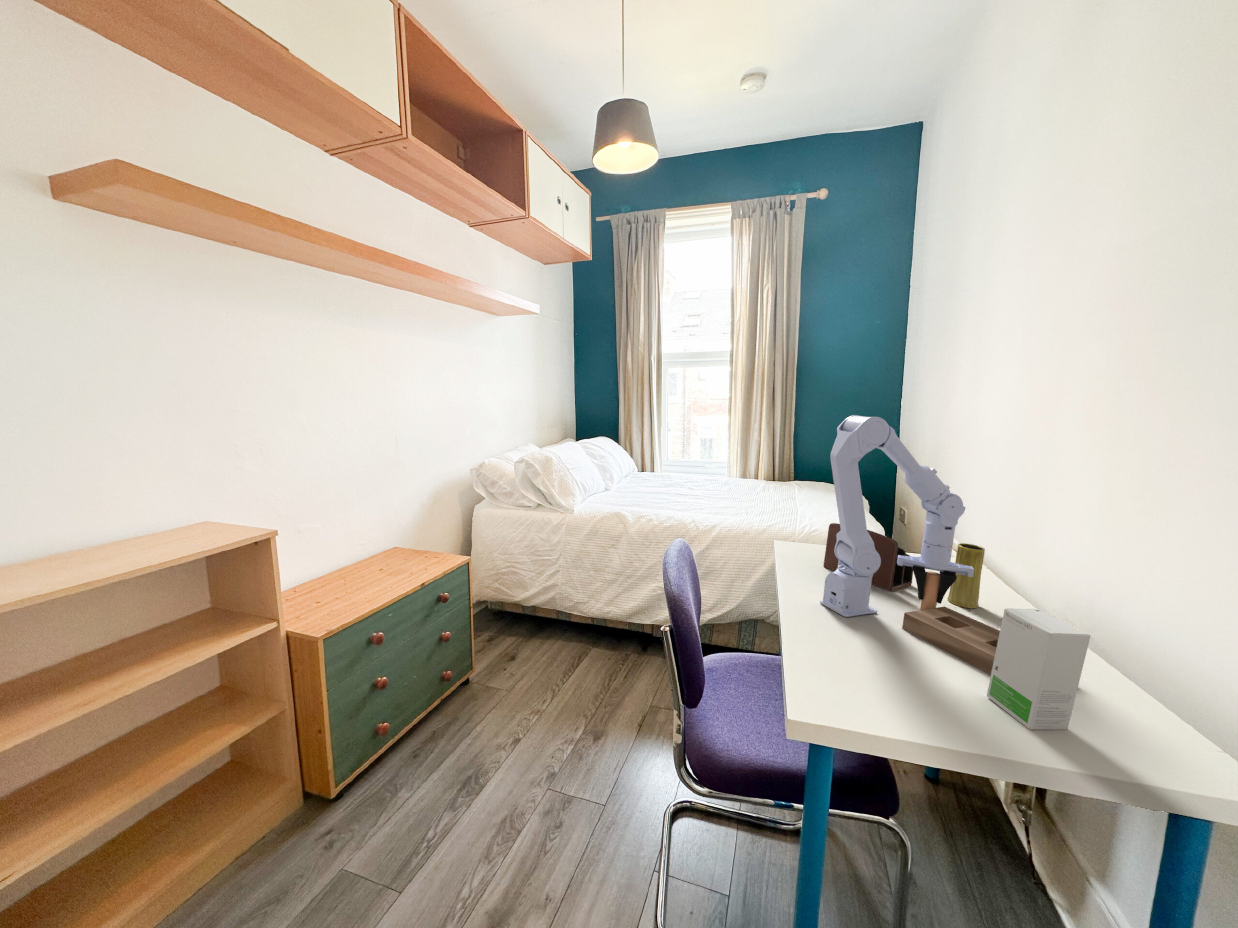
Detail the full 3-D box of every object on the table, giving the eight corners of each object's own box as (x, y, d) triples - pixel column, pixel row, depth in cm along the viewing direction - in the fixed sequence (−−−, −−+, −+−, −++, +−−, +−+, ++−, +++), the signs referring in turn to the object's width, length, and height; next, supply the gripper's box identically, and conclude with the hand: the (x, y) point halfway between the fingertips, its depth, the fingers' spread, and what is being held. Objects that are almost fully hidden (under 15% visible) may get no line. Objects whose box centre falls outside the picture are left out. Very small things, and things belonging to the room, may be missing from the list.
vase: (984, 609, 114) (993, 551, 112) (958, 607, 114) (967, 549, 112) (966, 598, 120) (975, 543, 118) (941, 597, 120) (949, 541, 118)
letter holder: (890, 592, 122) (897, 538, 120) (822, 567, 139) (827, 519, 137) (912, 586, 127) (919, 534, 125) (844, 562, 144) (849, 516, 142)
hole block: (1017, 688, 82) (1020, 668, 81) (902, 628, 102) (904, 612, 102) (1061, 677, 86) (1064, 658, 85) (942, 621, 106) (944, 606, 106)
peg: (929, 614, 110) (934, 576, 109) (917, 608, 113) (922, 571, 111) (938, 612, 111) (943, 575, 110) (926, 607, 114) (931, 570, 112)
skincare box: (985, 696, 79) (1000, 606, 77) (1022, 696, 80) (1038, 607, 77) (1032, 732, 71) (1050, 632, 69) (1073, 731, 71) (1092, 632, 69)
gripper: (971, 543, 110) (963, 600, 112) (899, 533, 116) (892, 587, 118) (979, 552, 104) (970, 612, 106) (902, 541, 110) (894, 597, 112)
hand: (929, 600), depth 111 cm, fingers closed on peg, 3 cm apart
